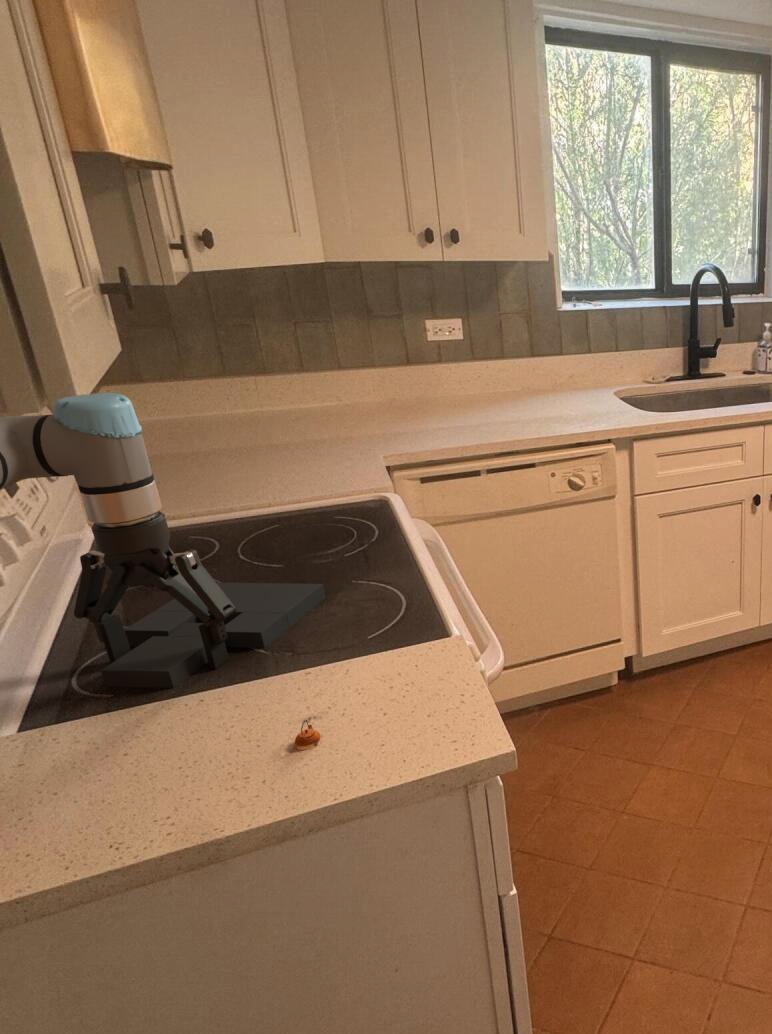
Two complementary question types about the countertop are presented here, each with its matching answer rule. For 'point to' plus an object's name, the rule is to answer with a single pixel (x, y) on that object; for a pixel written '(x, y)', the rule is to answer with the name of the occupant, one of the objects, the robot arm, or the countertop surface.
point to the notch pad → (239, 613)
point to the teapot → (307, 738)
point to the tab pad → (159, 660)
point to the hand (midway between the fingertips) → (171, 663)
